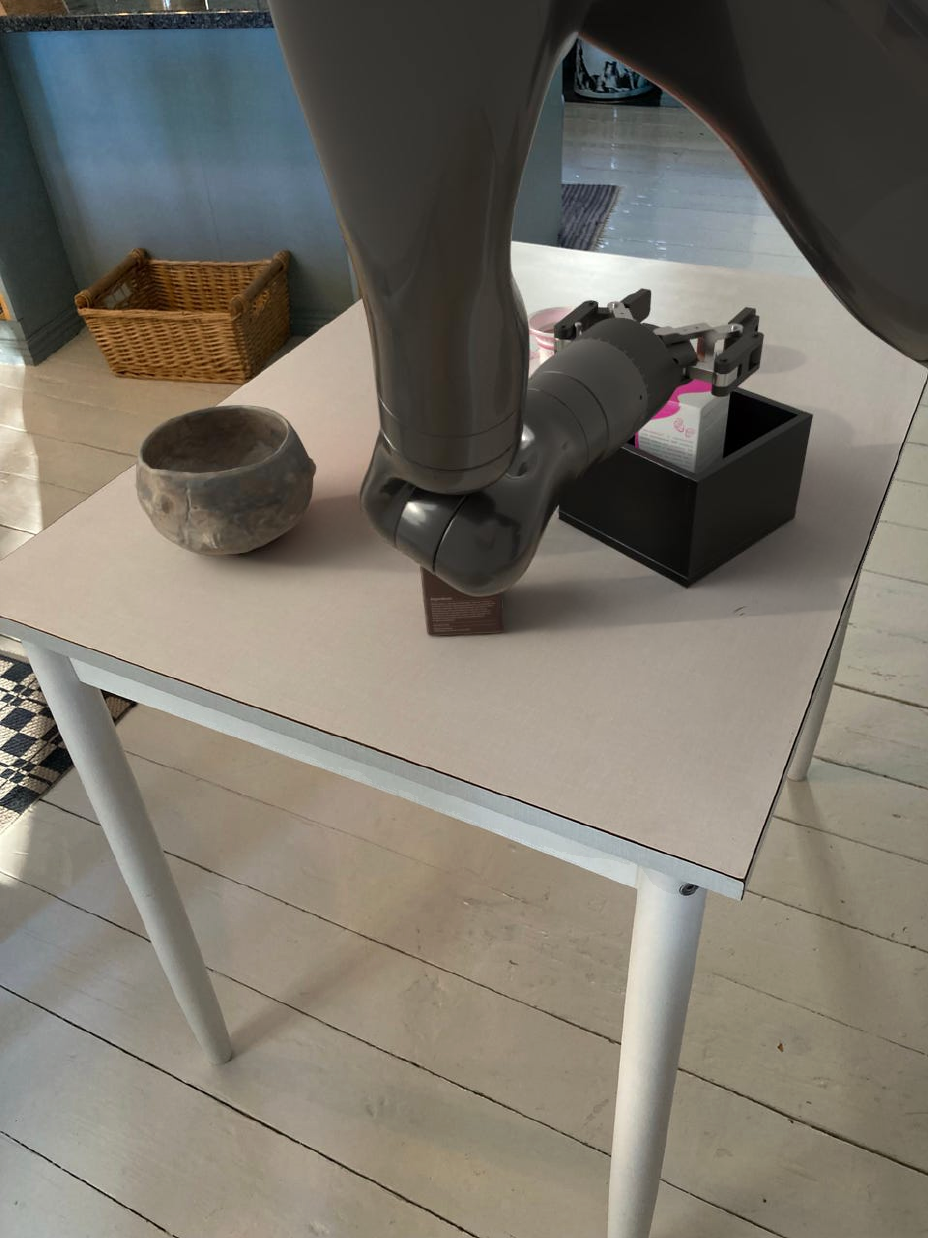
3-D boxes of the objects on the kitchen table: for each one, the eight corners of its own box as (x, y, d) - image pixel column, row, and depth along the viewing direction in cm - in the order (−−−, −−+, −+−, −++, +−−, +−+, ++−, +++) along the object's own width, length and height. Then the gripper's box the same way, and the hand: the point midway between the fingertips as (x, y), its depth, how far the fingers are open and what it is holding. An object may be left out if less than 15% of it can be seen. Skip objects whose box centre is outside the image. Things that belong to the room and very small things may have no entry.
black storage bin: (794, 517, 87) (813, 414, 81) (686, 588, 80) (697, 481, 74) (665, 459, 96) (673, 362, 90) (558, 519, 89) (558, 418, 83)
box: (503, 635, 77) (500, 557, 72) (426, 638, 77) (417, 560, 72) (502, 587, 82) (499, 512, 77) (429, 590, 82) (421, 515, 77)
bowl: (131, 533, 91) (100, 436, 85) (278, 474, 98) (259, 380, 92) (197, 604, 82) (168, 501, 76) (354, 533, 89) (339, 433, 83)
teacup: (608, 348, 117) (610, 296, 113) (624, 393, 107) (626, 339, 103) (506, 354, 117) (504, 303, 113) (513, 401, 107) (511, 346, 104)
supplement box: (719, 502, 88) (734, 382, 81) (688, 534, 84) (701, 411, 77) (660, 484, 91) (669, 367, 84) (628, 514, 87) (634, 394, 80)
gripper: (699, 363, 61) (795, 275, 71) (502, 321, 67) (615, 247, 77) (689, 470, 65) (780, 374, 75) (506, 421, 72) (612, 339, 82)
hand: (697, 310), depth 76 cm, fingers open, 8 cm apart
